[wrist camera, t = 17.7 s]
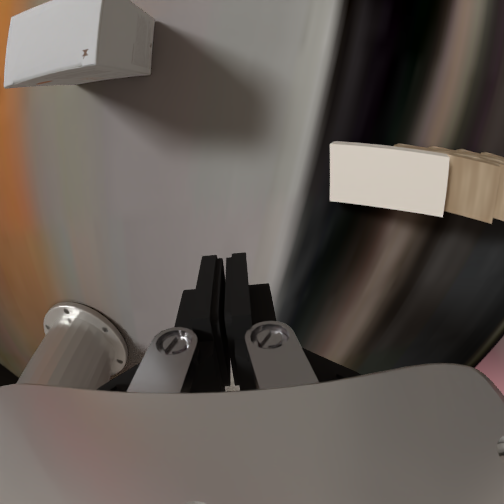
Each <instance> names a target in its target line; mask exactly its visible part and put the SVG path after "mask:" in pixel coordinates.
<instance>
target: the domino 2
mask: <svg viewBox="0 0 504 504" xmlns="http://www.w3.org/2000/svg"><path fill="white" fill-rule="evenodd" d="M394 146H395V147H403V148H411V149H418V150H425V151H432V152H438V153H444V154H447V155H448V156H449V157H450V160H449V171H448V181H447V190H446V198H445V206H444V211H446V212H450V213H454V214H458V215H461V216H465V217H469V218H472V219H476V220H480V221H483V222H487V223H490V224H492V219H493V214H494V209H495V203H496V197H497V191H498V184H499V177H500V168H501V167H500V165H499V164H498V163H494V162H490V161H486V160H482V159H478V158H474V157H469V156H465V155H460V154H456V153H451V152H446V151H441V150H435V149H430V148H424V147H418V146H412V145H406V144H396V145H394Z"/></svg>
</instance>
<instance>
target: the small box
mask: <svg viewBox="0 0 504 504" xmlns="http://www.w3.org/2000/svg"><path fill="white" fill-rule="evenodd" d="M154 25H155V19H154V18H152V17H151V16H150V15H149V14H147V13H146V12H144V11H143V10H142V9H140V8H139V7H138V6H136V5H135V4H134V3H132V2H131V1H129V0H51V1H48V2H46V3H43V4H41V5H38V6H36V7H33V8H31V9H29V10H26V11H24V12H22V13H19V14H17V15H15V16H13V17H12V18H11V23H10V28H9V34H8V42H7V50H6V60H5V73H4V88H17V87H30V86H48V85H78V84H83V83H89V82H95V81H101V80H108V79H116V78H124V77H133V76H145V75H150V74H151V59H152V46H153V35H154Z"/></svg>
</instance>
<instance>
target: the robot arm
mask: <svg viewBox="0 0 504 504" xmlns="http://www.w3.org/2000/svg"><path fill="white" fill-rule="evenodd" d="M44 331H45V334H46V336H45V338H44V339H43V341H42V342H41V344H40V345H39V347H38V348H37V350H36V352H35V353H34V355H33V356H32V358H31V360H30V361H29V363H28V365H27V366H26V368H25V370H24V371H23V373H22V375H21V376H20V378H19V380H18V382H17V383H16V384H12V385H7V386H2V387H0V504H504V396H503V394H502V393H501V392H500V391H499V389H498V388H497V387H496V386H495V385H494V383H493V382H492V381H491V380H490V379H489V378H488V377H486V375H484V374H483V373H482V372H480V371H479V370H477V369H475V368H473V367H470V366H466V365H461V364H451V363H432V364H420V365H413V366H407V367H402V368H397V369H392V370H387V371H381V372H376V373H370V374H366V375H361V374H359V373H357V372H355V371H353V370H351V369H348V368H346V367H344V366H342V365H339V364H337V363H335V362H333V361H330V360H328V359H326V358H324V357H321V356H319V355H317V354H315V353H313V352H310V351H308V350H306V349H304V348H302V347H301V345H300V343H299V341H298V339H297V337H296V335H295V333H294V332H293V330H292V329H291V328H290V327H289V326H288V325H286V324H285V323H282V322H278V321H276V317H275V312H274V306H273V301H272V296H271V291H270V286H269V283H268V284H256V285H248V273H247V261H246V253H235V254H232V257H231V258H227V259H226V282H225V274H224V266H223V259H222V258H219V259H217V255H211V256H202V260H201V265H200V270H199V275H198V280H197V285H196V289H192V290H184V291H183V294H182V298H181V302H180V306H179V310H178V314H177V318H176V323H175V327H173V328H169V329H166V330H164V331H162V332H160V333H159V334H157V335H156V336H155V337H154V339H153V340H152V342H151V344H150V345H149V347H148V349H147V351H146V353H145V355H144V357H143V359H142V361H141V363H139V364H137V365H136V366H134V367H132V368H131V369H129V370H127V371H126V372H124V373H122V374H121V375H119V376H117V377H116V378H114V379H112V380H110V381H109V379H110V377H111V375H114V374H116V373H118V372H120V371H121V370H122V369H123V367H124V366H125V364H126V361H127V358H128V350H127V345H126V343H125V341H124V338H123V337H122V335H121V334H120V332H119V331H118V330H117V328H116V327H115V326H114V325H113V324H112V323H111V322H110V321H109V320H108V319H107V318H105V317H104V316H103V315H101V314H100V313H99V312H97V311H95V310H93V309H91V308H89V307H87V306H84V305H82V304H78V303H74V302H62V303H58V304H56V305H54V306H53V307H52V308H51V309H50V310H49V311H48V313H47V314H46V316H45V319H44ZM230 358H231V365H232V371H233V377H234V383H235V386H236V385H240V391H227V392H225V386H230Z"/></svg>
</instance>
